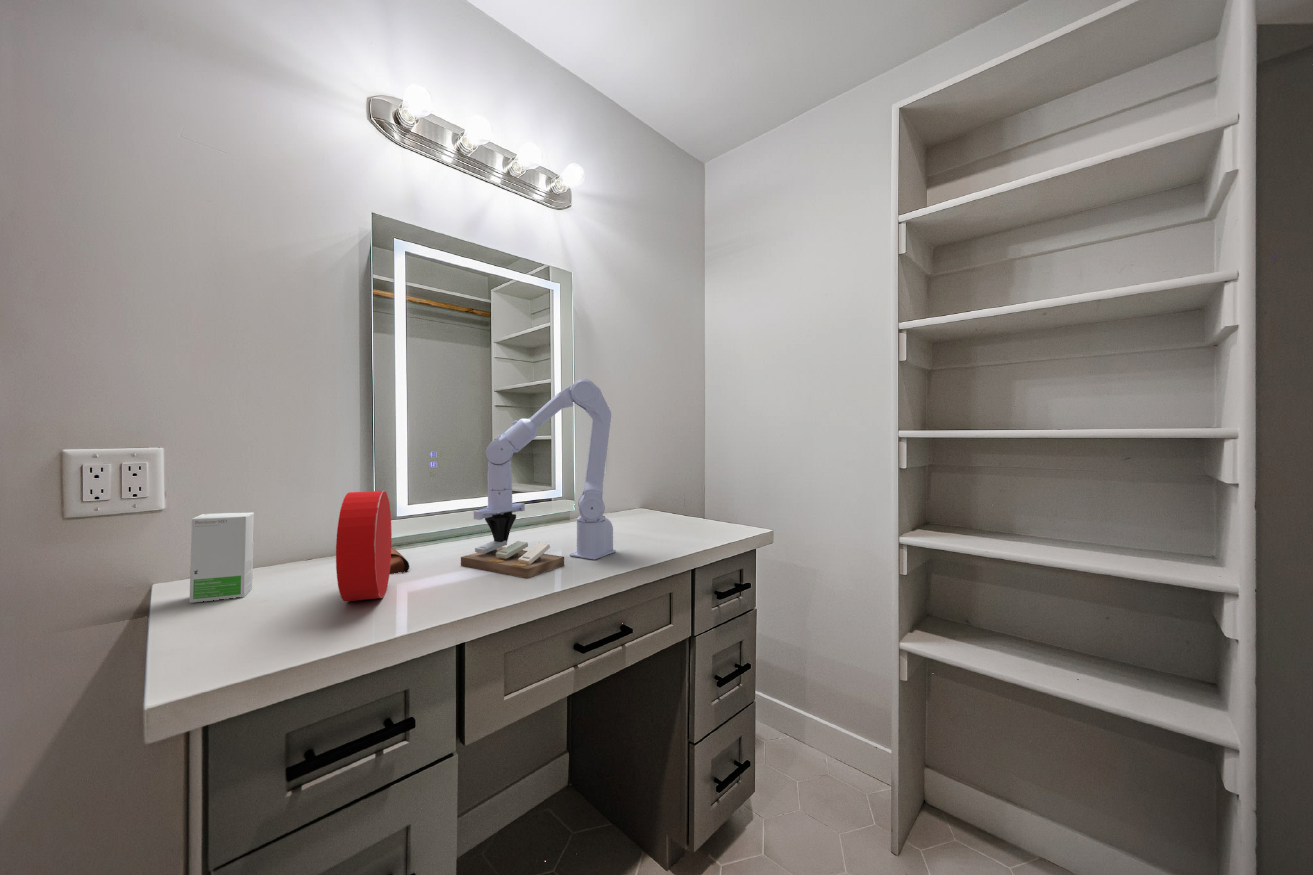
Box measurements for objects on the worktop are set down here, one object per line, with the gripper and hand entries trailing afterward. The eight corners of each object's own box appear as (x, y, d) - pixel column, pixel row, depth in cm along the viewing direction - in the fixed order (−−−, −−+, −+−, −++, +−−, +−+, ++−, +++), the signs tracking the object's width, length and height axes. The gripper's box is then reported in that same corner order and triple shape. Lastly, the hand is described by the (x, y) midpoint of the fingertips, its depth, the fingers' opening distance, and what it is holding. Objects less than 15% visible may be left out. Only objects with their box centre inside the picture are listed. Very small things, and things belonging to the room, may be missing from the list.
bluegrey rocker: (497, 543, 125) (497, 539, 125) (507, 544, 123) (506, 540, 123) (475, 552, 119) (474, 547, 119) (484, 553, 117) (484, 549, 117)
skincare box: (188, 604, 91) (187, 518, 91) (200, 594, 97) (200, 513, 97) (246, 597, 95) (245, 515, 95) (255, 587, 101) (254, 510, 101)
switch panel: (500, 554, 128) (500, 543, 128) (564, 565, 118) (564, 552, 118) (460, 565, 118) (460, 553, 118) (527, 578, 107) (527, 564, 107)
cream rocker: (539, 546, 118) (538, 542, 117) (550, 547, 116) (549, 543, 116) (519, 562, 112) (518, 558, 112) (529, 564, 111) (528, 560, 110)
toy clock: (359, 584, 103) (359, 486, 103) (391, 581, 105) (391, 485, 105) (336, 617, 85) (335, 499, 84) (375, 613, 87) (374, 497, 87)
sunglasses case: (353, 561, 121) (369, 535, 124) (381, 571, 125) (396, 546, 127) (367, 578, 108) (384, 548, 110) (398, 589, 111) (414, 560, 114)
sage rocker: (518, 544, 121) (517, 540, 121) (528, 546, 120) (527, 542, 120) (496, 557, 115) (495, 552, 115) (506, 558, 114) (505, 554, 114)
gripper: (510, 485, 132) (511, 537, 132) (464, 491, 119) (465, 548, 119) (530, 486, 128) (531, 539, 128) (485, 493, 116) (485, 552, 116)
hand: (500, 544), depth 124 cm, fingers closed, pressing on bluegrey rocker
